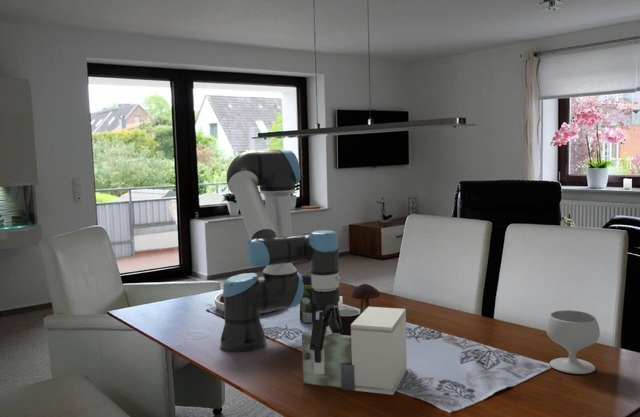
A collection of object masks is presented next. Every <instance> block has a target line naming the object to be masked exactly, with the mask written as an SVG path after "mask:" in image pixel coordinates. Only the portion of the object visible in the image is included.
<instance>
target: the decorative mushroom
mask: <svg viewBox="0 0 640 417" xmlns="http://www.w3.org/2000/svg"><path fill="white" fill-rule="evenodd" d="M379 297H381V292H380V291H379V290H378V289H377V288H375V287H374V286H373V285H370V284H368V283H363V284H362V283H361V284H360V285H358V286H356V287H355V288H354V289H353V290H352V292H351V294H350V298H351V299H354V300H360V306H359V311H360V315H361V314H362V313H363V312H364V311H365V310H366V309H367V308H368V307H371V302H370V299H371V300H372V299H377V298H379Z"/></svg>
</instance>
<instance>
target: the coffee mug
mask: <svg viewBox="0 0 640 417" xmlns="http://www.w3.org/2000/svg"><path fill="white" fill-rule="evenodd" d="M339 312H340V317H341V322H342V328H340V329H343V333H340V332H339V333H340V335H347V336H351V324H352V323H353V322H354V321H355V320H356V319H357V318H358V317H359V316H360V310H358V309H353V308H340V309H339ZM338 324H339V323H338Z"/></svg>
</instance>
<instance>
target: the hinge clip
mask: <svg viewBox="0 0 640 417" xmlns="http://www.w3.org/2000/svg"><path fill="white" fill-rule="evenodd" d="M341 386H342V387H341V390H344V391H351V392H352V391H355V379H354V365H352V364H345V363H341ZM355 392H356V391H355Z"/></svg>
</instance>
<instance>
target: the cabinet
mask: <svg viewBox="0 0 640 417" xmlns="http://www.w3.org/2000/svg"><path fill="white" fill-rule="evenodd" d="M406 311H407V310H406V308H399V307H398V308H395V307H381V306H380V307H379V306H370V307H368V308H367V309H366V310H365V311H364V312H363V313H362V314H361V315H360V316H359V317H358V318H357V319H356V320H355V321H354V322H353V323H352V324H351V349H352V365H354V379H355V392H356V391H357V392H367V393H372V394H373V393H374V394H382V395H391V396H394V394H395V392H396V390H397V388H398V387H399V384H400V382H401V381H402V380H403V377H404V375H405V374H406V371H407V364H408V362H407V359H408V358H407V323H406V322H407V320H406V319H407V317H406V316H407V315H406Z"/></svg>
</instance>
